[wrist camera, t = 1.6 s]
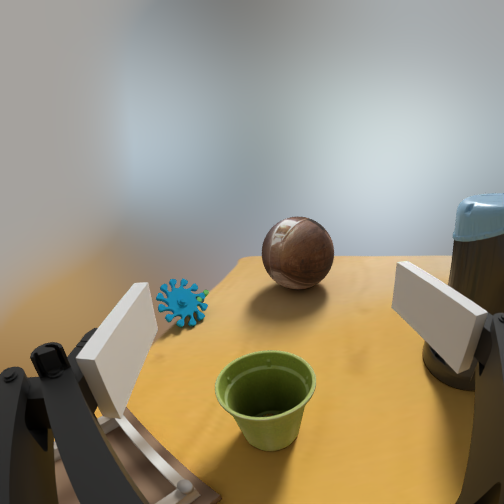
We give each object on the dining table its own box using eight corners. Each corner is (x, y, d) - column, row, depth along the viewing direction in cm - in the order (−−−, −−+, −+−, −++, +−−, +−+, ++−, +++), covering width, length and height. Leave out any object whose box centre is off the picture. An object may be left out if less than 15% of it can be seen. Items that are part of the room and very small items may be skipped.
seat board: (222, 498, 19) (213, 485, 18) (88, 577, 7) (65, 570, 6) (128, 411, 31) (118, 393, 30) (28, 464, 19) (12, 448, 18)
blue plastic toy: (170, 331, 47) (149, 282, 50) (163, 342, 51) (144, 296, 54) (222, 314, 54) (199, 270, 57) (211, 325, 58) (191, 285, 62)
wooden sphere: (253, 296, 60) (243, 226, 55) (283, 269, 72) (277, 209, 67) (322, 307, 52) (319, 229, 47) (341, 274, 64) (340, 210, 59)
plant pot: (325, 450, 24) (331, 402, 21) (236, 472, 22) (219, 428, 20) (299, 394, 33) (298, 342, 30) (225, 410, 31) (211, 360, 28)
